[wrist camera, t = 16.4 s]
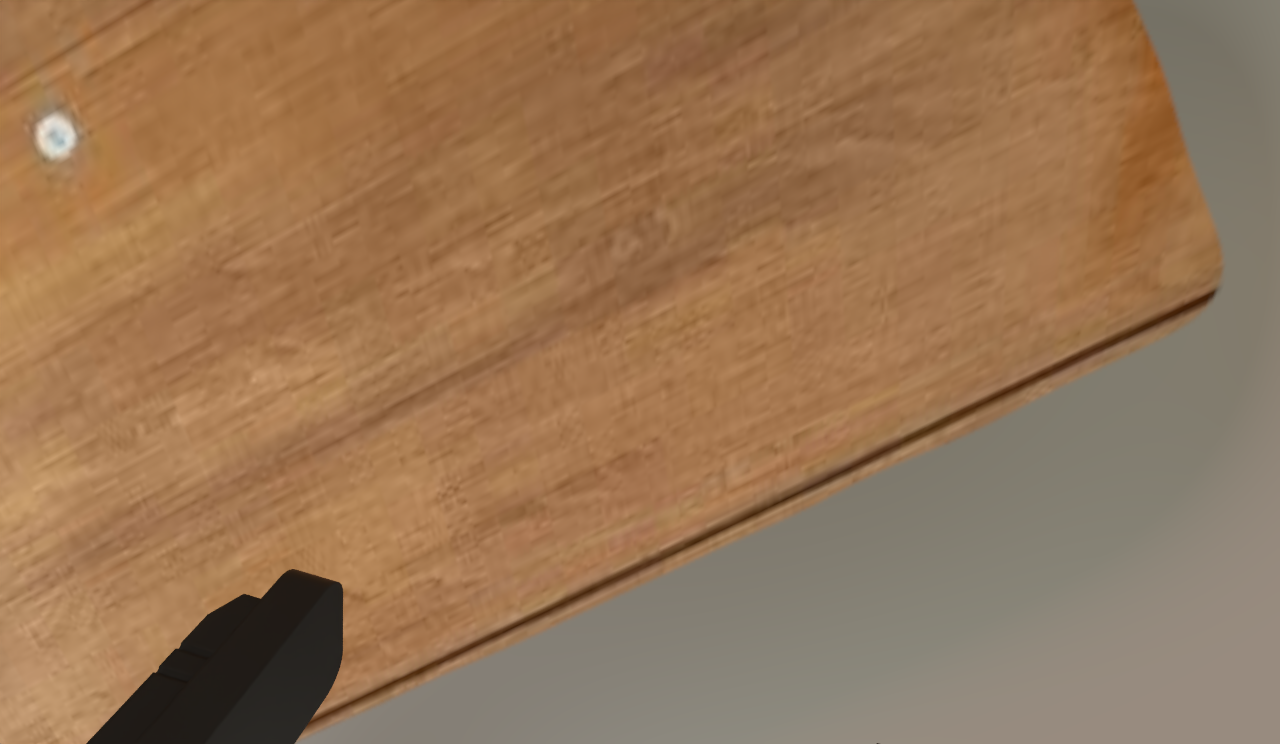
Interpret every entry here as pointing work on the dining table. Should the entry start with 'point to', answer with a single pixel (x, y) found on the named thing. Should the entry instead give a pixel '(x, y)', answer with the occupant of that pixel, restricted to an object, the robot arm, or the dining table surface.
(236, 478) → the dining table surface
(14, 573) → the dining table surface
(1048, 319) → the dining table surface
